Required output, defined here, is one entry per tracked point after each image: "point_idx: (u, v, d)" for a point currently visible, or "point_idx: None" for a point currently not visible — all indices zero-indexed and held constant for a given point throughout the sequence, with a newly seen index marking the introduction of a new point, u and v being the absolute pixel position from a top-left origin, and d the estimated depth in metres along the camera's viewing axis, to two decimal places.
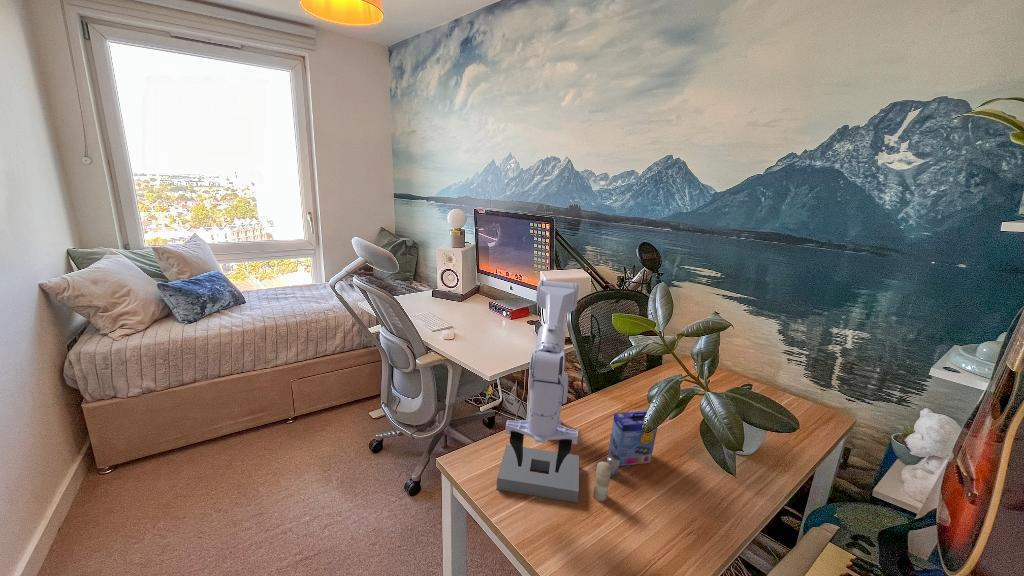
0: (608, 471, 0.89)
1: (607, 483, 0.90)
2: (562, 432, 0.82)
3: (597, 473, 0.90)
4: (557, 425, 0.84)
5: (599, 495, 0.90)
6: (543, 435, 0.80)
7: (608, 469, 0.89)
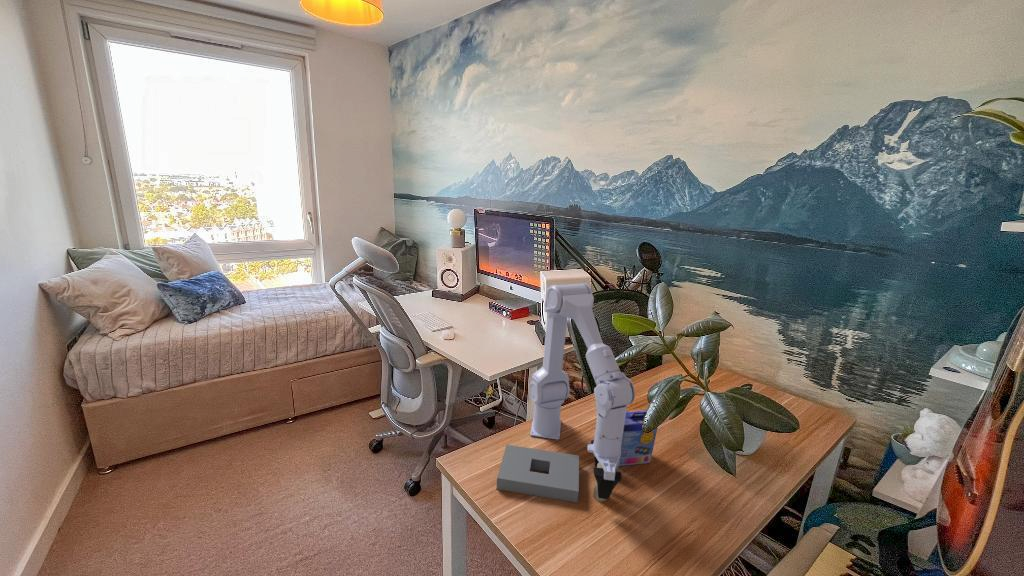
0: None
1: None
2: (607, 462, 0.85)
3: None
4: (617, 460, 0.85)
5: None
6: (593, 448, 0.88)
7: None
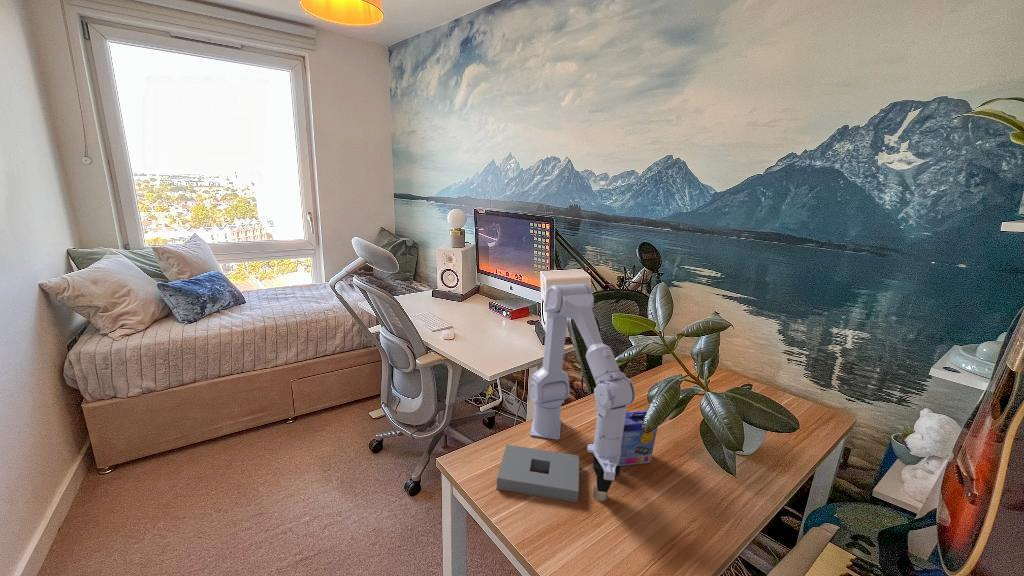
0: None
1: None
2: (607, 462, 0.85)
3: None
4: (617, 460, 0.85)
5: (599, 495, 0.90)
6: (593, 448, 0.88)
7: None
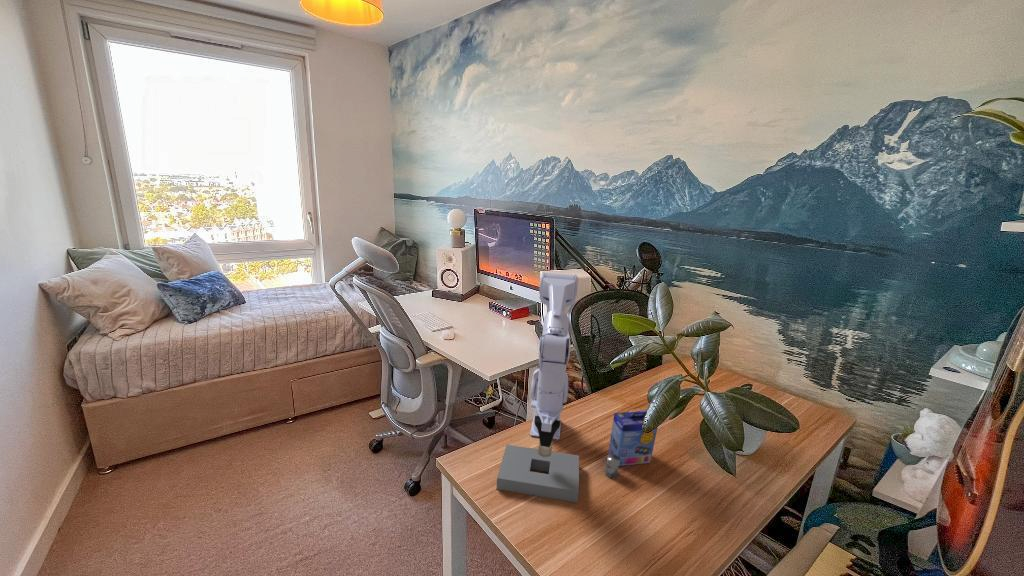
0: None
1: None
2: (546, 416, 0.87)
3: None
4: (557, 414, 0.88)
5: (543, 450, 0.93)
6: (536, 403, 0.91)
7: None
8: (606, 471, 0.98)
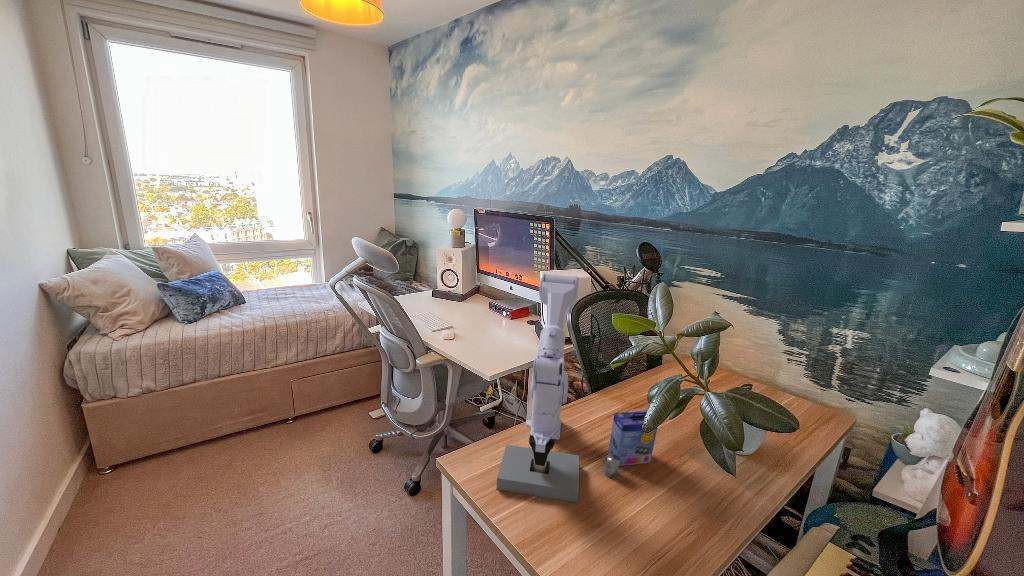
0: None
1: None
2: (540, 436, 0.89)
3: None
4: (551, 434, 0.90)
5: (537, 469, 0.95)
6: (531, 423, 0.93)
7: None
8: (606, 471, 0.98)
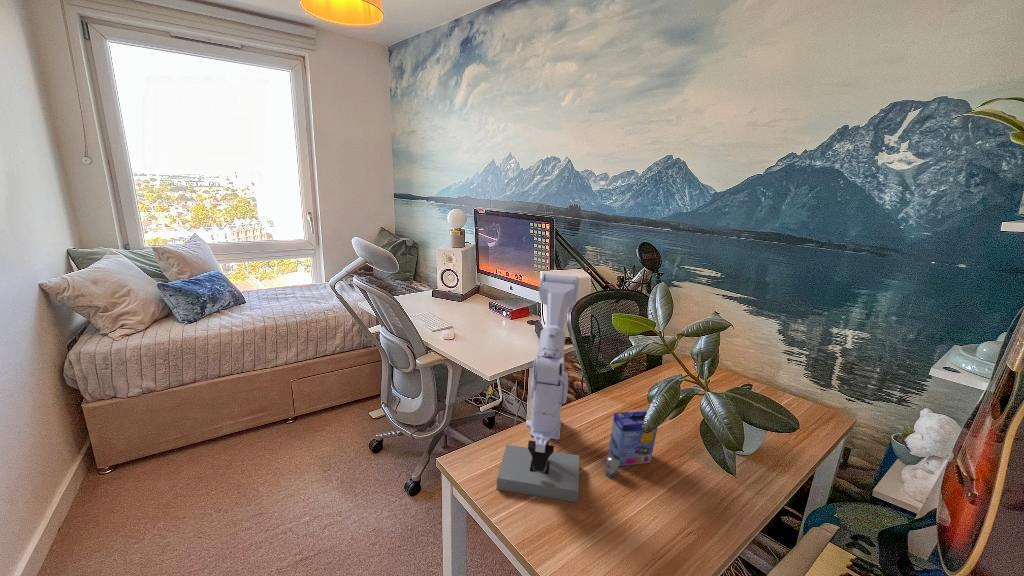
0: None
1: None
2: (540, 436, 0.89)
3: None
4: (551, 434, 0.90)
5: None
6: (531, 423, 0.93)
7: None
8: (606, 471, 0.98)
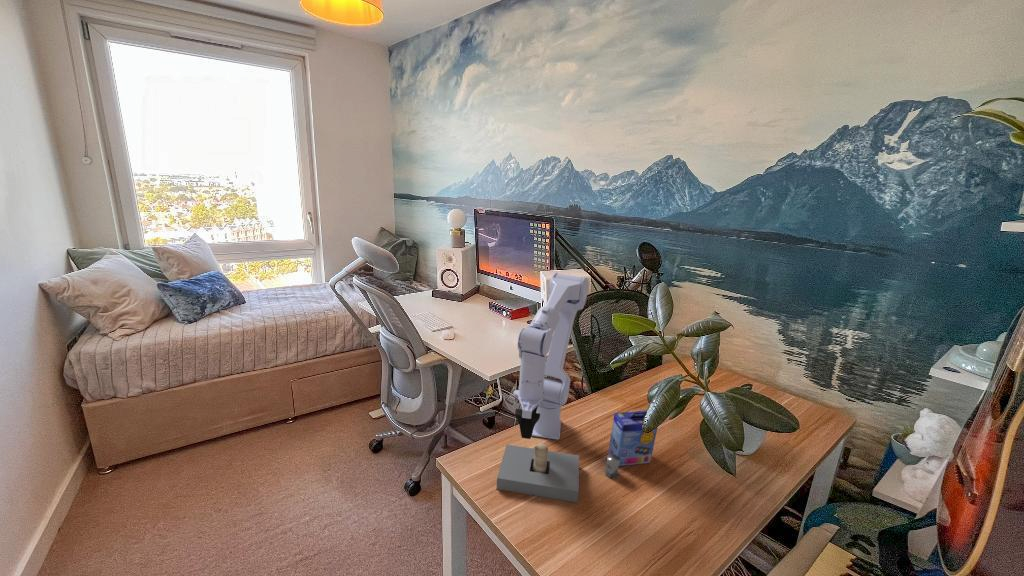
0: (544, 452, 0.93)
1: (544, 464, 0.94)
2: (527, 404, 0.93)
3: (535, 454, 0.94)
4: (537, 402, 0.94)
5: None
6: (518, 392, 0.97)
7: (544, 450, 0.94)
8: (606, 471, 0.98)
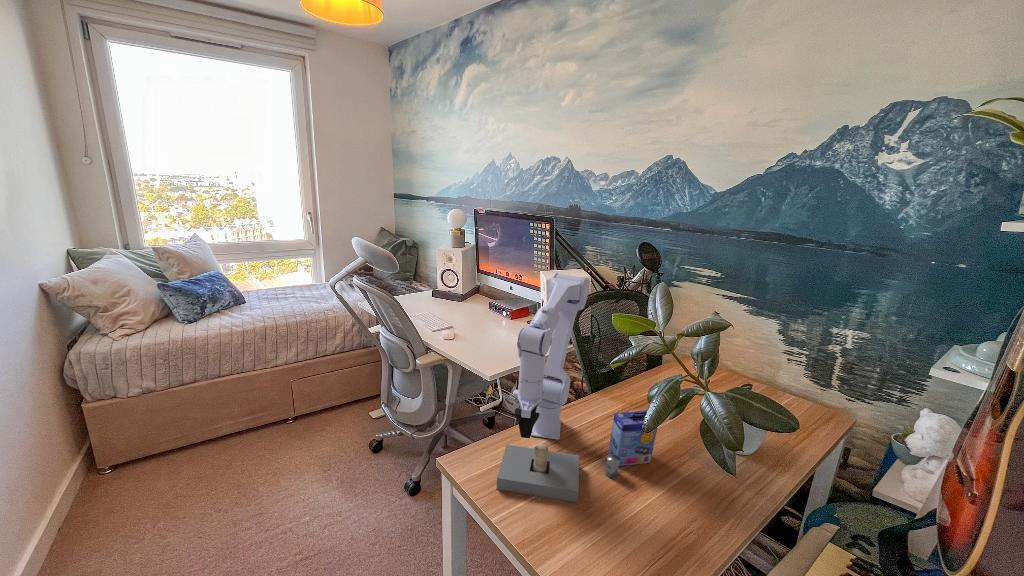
0: (544, 452, 0.93)
1: (544, 464, 0.94)
2: None
3: (535, 454, 0.94)
4: (536, 402, 0.94)
5: None
6: (518, 392, 0.97)
7: (545, 450, 0.94)
8: (606, 471, 0.98)
